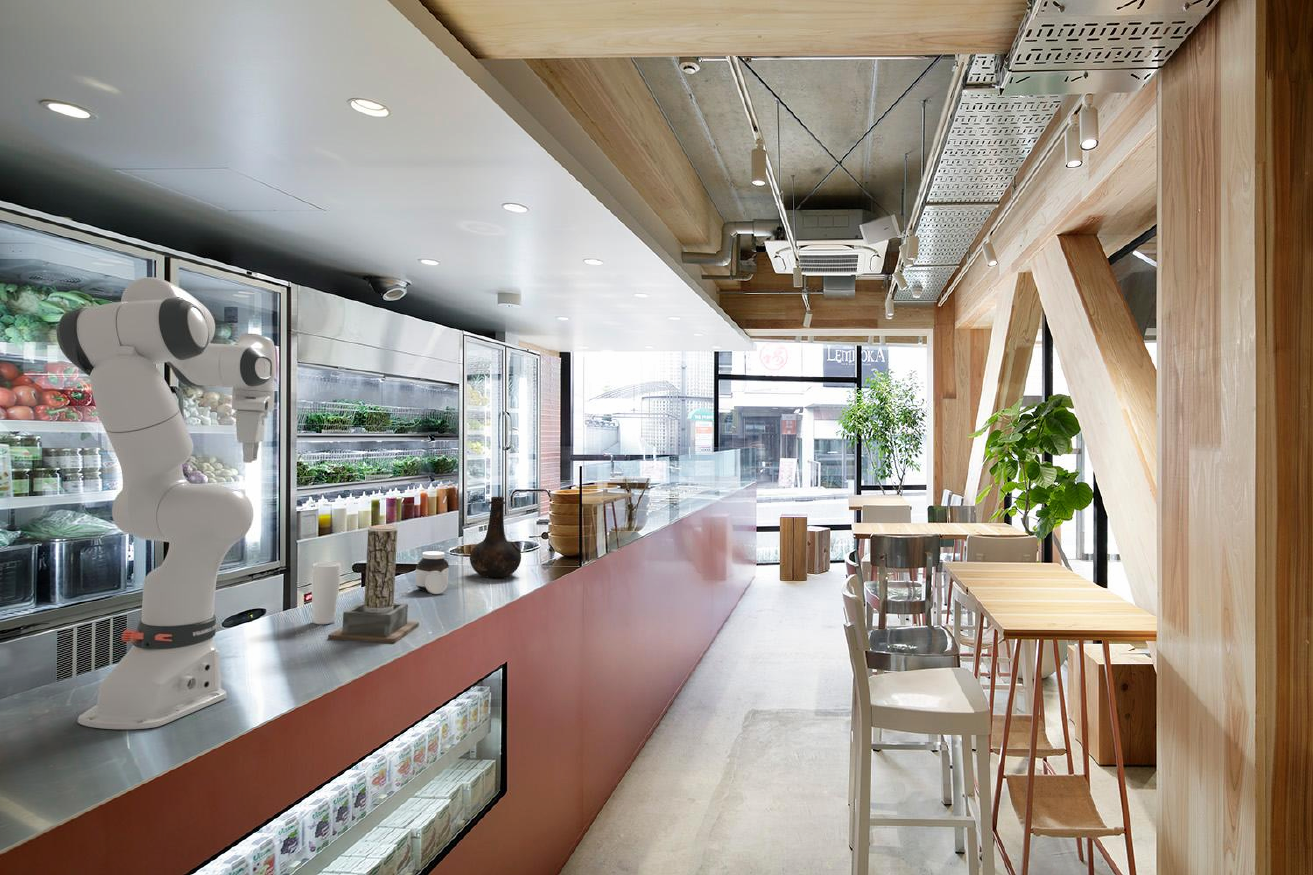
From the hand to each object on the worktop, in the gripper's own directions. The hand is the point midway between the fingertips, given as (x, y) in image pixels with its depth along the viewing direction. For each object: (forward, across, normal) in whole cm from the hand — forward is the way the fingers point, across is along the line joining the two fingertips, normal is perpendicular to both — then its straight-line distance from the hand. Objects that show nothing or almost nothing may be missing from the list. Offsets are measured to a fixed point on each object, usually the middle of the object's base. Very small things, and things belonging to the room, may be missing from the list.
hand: (250, 461), depth 173 cm
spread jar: (+42, -40, +48) cm, 75 cm away
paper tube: (+40, +5, +30) cm, 51 cm away
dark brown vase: (+42, -61, +72) cm, 103 cm away
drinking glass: (+41, -7, +18) cm, 45 cm away
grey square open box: (+41, +5, +30) cm, 51 cm away
